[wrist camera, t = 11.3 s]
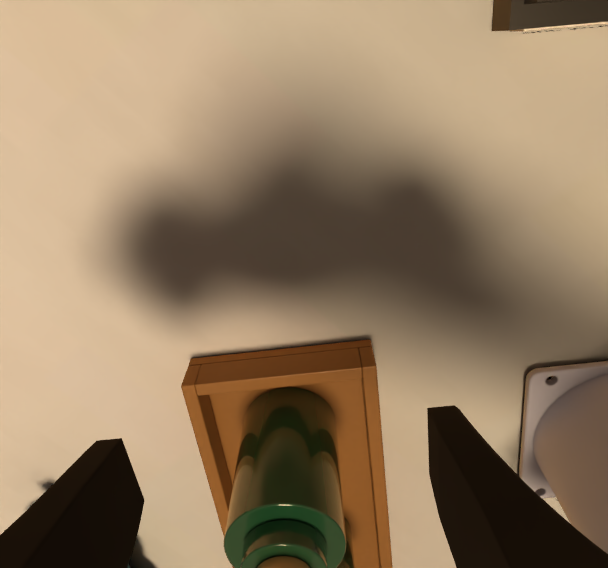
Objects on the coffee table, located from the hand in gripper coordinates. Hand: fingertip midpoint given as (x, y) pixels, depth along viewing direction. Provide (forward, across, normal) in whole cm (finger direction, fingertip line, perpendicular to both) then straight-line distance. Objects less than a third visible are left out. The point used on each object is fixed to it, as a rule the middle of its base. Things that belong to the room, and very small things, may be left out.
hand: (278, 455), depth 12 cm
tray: (+10, +1, +15) cm, 18 cm away
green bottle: (+10, +1, +8) cm, 12 cm away
